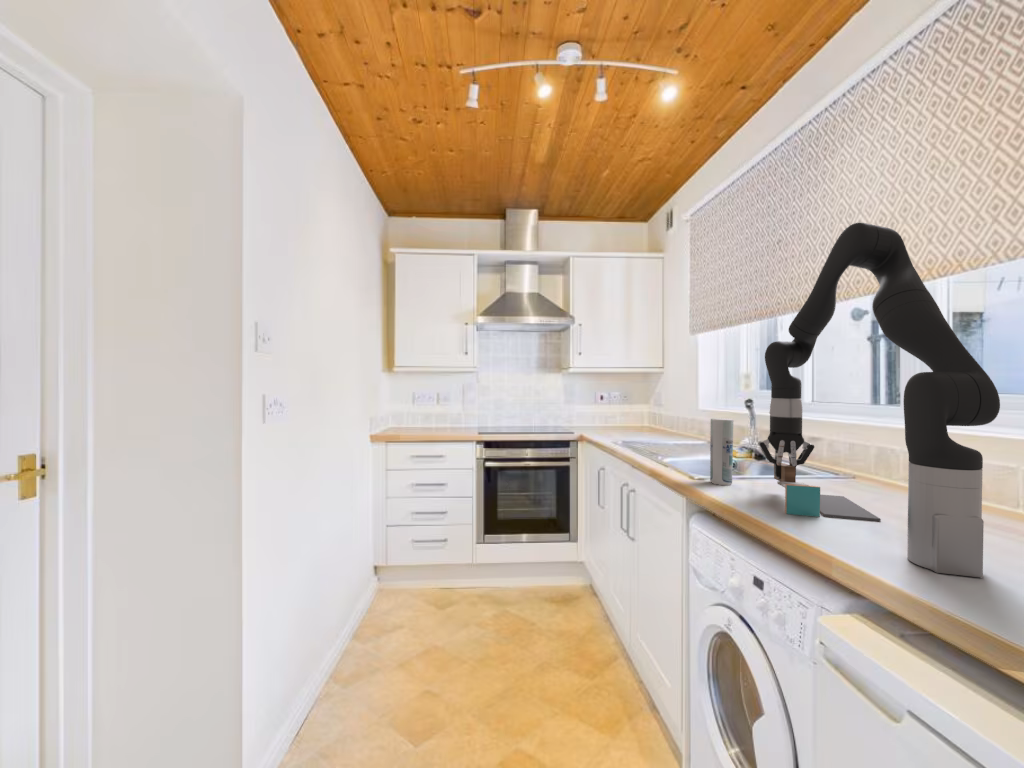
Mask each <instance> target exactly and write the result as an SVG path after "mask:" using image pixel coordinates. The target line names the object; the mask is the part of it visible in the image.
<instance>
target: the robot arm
mask: <svg viewBox="0 0 1024 768" xmlns="http://www.w3.org/2000/svg"><path fill="white" fill-rule="evenodd" d="M849 266H850V267H855V268H859V269H863V270H864V269H865V270H867V271H870V273H872V274H873V275H874V277H875V278H876V280H877V282H878V284H879V288H878V289H877V291H876V293H875V294H874V298H873V299H872V304H871V305H872V312H873V315H874V317H875V321H876V322H877V323H878V325H879V328H880V330H881V331H882V333H883V334H884V336H885V337H886V338H887V339H888V340H890V341H891V342H892V343H893V344H895V345H896V346H897V347H899V348H901V349H902V350H904V351H905V352H907V353H908V354H910V355H911V356H913V357H915V358H917V359H918V360H920V361H921V362H922V363H924V364H925V365H926V366H927V367H928V368H929V369H930V370H931V371H924V372H923V371H921V372H918V373H915V374H913V375H912V376H910V378H909V379H908V380H907V383H906V385H905V387H904V391H903V419H904V439H905V440H904V441H905V446H906V449H907V453H908V475H907V476H908V480H907V481H908V482H907V534H906V535H907V555H906V556H907V560H908V561H910V562H912V563H913V564H915V565H918V566H919V567H922V568H925V569H929V570H931V571H933V572H934V573H937V574H946V575H947V574H948V575H954V576H957V575H958V576H964V577H971V578H972V577H974V578H981V579H982V578H984V577H983V576H984V522H985V521H984V519H982V518H983V516H982V515H983V514H982V513H983V509H982V508H983V468H984V467H983V463H984V462H983V461H984V459H983V454H982V453H981V452H980V451H979V450H977V449H974V448H971V447H968V446H965V445H962V444H960V443H958V442H957V441H955V440H953V439H952V438H951V437H950V436H949V434H948V433H949V432H948V427H947V426H949V427H950V426H953V427H954V426H955V427H977V426H979V427H980V426H984V425H987V424H990V423H992V422H993V421H994V420H995V419H996V418H997V417H998V415H999V413H1000V410H1001V409H1000V408H1001V400H1000V396H999V391H998V389H997V387H996V386H995V383H994V382H993V380H992V379H991V377H990V376H989V375H988V373H987V372H986V371H985V370H984V368H982V366H981V365H980V364H979V363H978V361H977V360H976V359H975V358H974V357H973V356H972V355H971V352H970V351H968V349H966V347H965V346H964V344H963V343H962V342H961V341H960V339H959V338H958V336H957V335H956V334H955V331H954V330H953V329H952V327H951V325H950V324H949V322H948V321H947V320H946V318H945V317H944V315H943V313H942V311H941V309H940V307H939V306H938V303H937V302H936V301H935V299H934V297H933V295H932V294H931V292H930V291H929V290H928V289H927V287H926V285H925V284H924V282H923V281H922V279H921V277H920V275H919V274H918V272H917V269H915V266H914V264H913V262H912V260H911V258H910V256H909V252H908V250H907V247H906V245H905V242H904V240H903V238H902V236H901V235H900V234H899V232H898V231H896V230H894V229H892V228H889V227H884V226H880V225H875V224H871V223H867V222H866V223H865V222H855V223H852V224H850V225H848V226H847V227H845V229H843V231H842V232H841V233H840V235H839V236H838V238H837V239H836V241H835V242H834V244H833V247H832V248H831V250H830V253H829V254H828V256H827V258H826V260H825V262H824V265H823V267H822V269H821V270H820V273H819V275H818V276H817V280H816V281H815V284H814V285H813V288H812V291H811V292H810V293H809V296H808V297H807V299H806V300H805V302H804V304H803V306H802V307H801V309H799V311H798V312H797V315H796V316H795V317H794V318H793V320H792V321H791V323H790V325H789V327H788V333H789V335H790V336H791V337H792V338H794V339H793V340H792V341H783V340H782V341H781V340H779V341H778V340H777V341H772V342H771V343H770V344H768V346H767V348H766V350H765V352H764V362H765V367H766V369H767V373H768V376H769V380H770V384H771V387H770V388H771V393H770V395H771V396H770V397H771V398H770V403H769V435H768V437H767V439H765V440H762V441H761V440H760V441H758V442H757V445H758V446H759V448H760V450H761V451H762V453H763V455H764V456H765V459H766V461H768V462H770V463H771V464H773V466H774V465H775V476H776V477H777V478H778V479H781V463H783V456H784V453H787V456H788V463H789V464H788V465H790V466H793V467H795V475H796V476H797V466H799V465H804V464H805V463H806V461H807V460H808V458H809V457H810V455H811V454H812V453H813V451H814V449H815V445H814V444H812V443H809V442H806V441H805V438H804V436H803V402H802V380H801V379H800V377H797V376H793V375H792V374H791V373H790V369H789V368H792V369H793V368H799V367H802V366H803V365H804V364H806V363H807V362H808V361H809V359H810V358H811V356H812V353H813V350H814V347H815V345H816V342H817V340H818V337H819V336H820V335H821V333H822V332H823V331H824V329H825V328H826V327H827V326H828V324H829V322H830V321H831V320H832V318H833V316H834V313H835V311H836V306H837V305H836V304H837V289H838V285H839V281H840V279H841V277H842V275H843V274H844V273H845V272H846V270H847V269H848V268H849ZM769 444H770V445H771V446H772V448H773V449H774V457H773V455H772V454H771V452H770V450H769V448H770V445H769ZM801 446H802V451H801V452H800V454H799V456H798V458H797V451H798V450H799V449H800V448H801Z"/></svg>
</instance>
